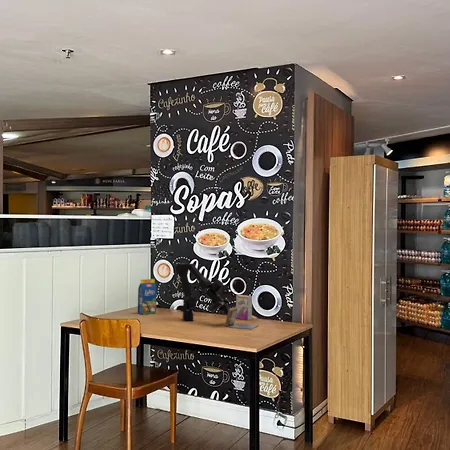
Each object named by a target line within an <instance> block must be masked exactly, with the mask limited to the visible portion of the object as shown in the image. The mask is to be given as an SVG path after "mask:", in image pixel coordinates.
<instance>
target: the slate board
mask: <svg viewBox="0 0 450 450" xmlns="http://www.w3.org/2000/svg"><path fill="white" fill-rule="evenodd" d="M257 326H258V327H259V326H260V325H259V324H251V323H249V324H248V323H234V325H232V326H229V327H228V328H230V329H240V330H241V329H242V330H253V329H256V328H258V327H257Z"/></svg>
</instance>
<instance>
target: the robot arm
mask: <svg viewBox="0 0 450 450" xmlns="http://www.w3.org/2000/svg"><path fill="white" fill-rule="evenodd" d="M175 271H176V273H177V275H178V276H179V277H180V281H181V287H182V291H183V292H182V293H183V295H184V298H183V300H182V302H183V304H182V306H181V307H180V312H182V319H181V320H182V322H183V321H184V322H193V321H194V313H193V312H195V311H196V307H197V300H196V297H193V295H192V291H191V286H190V282H189V278H188V277H189V276H188V274H189V273H191V274H192V276H193V277H194V278H195V279H196V280H197V282H198V286H199V288H200V289H201V290H202V291H203V290H204V291H203V297H205V296H206V297H208V298H209V299H210V303H211V304H210V305H207V306H206V309H207V310H208V312H209V313H210V312H211V313H212V314H213V313H215V312H216V311H222V312H224V313H225V314H227V315H228V311H229V309H230V308H229V305H228V304H229V303H231V300H230V299H228V298H227V299H224V298H222V297H221V295H220V294H218V292H220V290H221V289H222V288H223V287H224V282H222V281H221V280H220V279H218V278H215V279H214V280H213V282H212V281H211V280H210V279H209V278H207V277H205V276H204V275H203V274H202V273H201V271H200V270H199V269H198V268H197V267H196V265H195V264H194V263H185V262H184V263H183V262H182V263H179V262H178V263H177V264H176V265H175Z"/></svg>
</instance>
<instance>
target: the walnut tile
mask: <svg viewBox="0 0 450 450" xmlns="http://www.w3.org/2000/svg"><path fill="white" fill-rule="evenodd" d="M237 310H238V309H237V308H236V307H232V308H229V311H228V314H227V316H226V319H225V324H224V326H225V327H227V328H229V326H232V325H234V324H235V322H236V314H237Z"/></svg>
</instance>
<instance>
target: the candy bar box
mask: <svg viewBox="0 0 450 450" xmlns="http://www.w3.org/2000/svg"><path fill="white" fill-rule="evenodd" d="M235 308H237V309H238V310H237V314H236V318H235V320H237V319H238V320H243V321H251V320H253V296H251V295H245V294H244V295H243V294H238V295H237V294H236V299H235Z"/></svg>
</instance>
